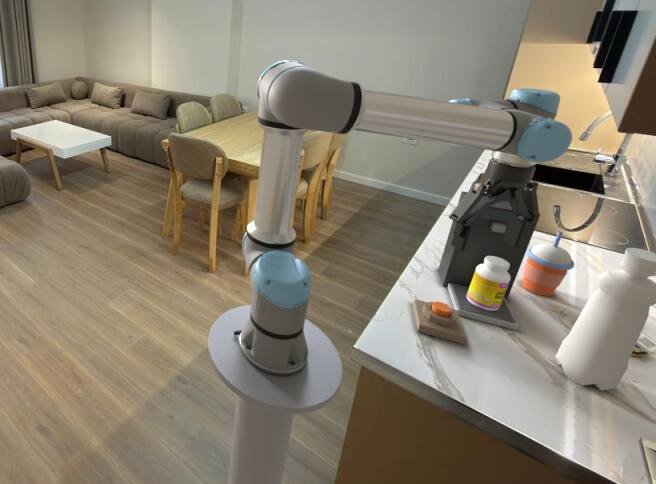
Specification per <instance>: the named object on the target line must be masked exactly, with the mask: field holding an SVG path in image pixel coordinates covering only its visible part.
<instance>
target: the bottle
mask: <svg viewBox="0 0 656 484" xmlns="http://www.w3.org/2000/svg"><path fill="white" fill-rule="evenodd" d="M619 266H620V267H621V268H622V269H621V268H608V269H607V270H605V271H603V272H601V273H599V274H598V276H597V278H596V279H597V280H596V284H597V287H598V288H597V289H596V290H595V291H594V292H593V293H592V294H591V295H590V296H589V298H588V300H587V302H586V304H585V305H584V307H583V309H582V310H581V311H580V314H579V316H578V317H577V319H576V320H575V322H574V324H573V326H572V328H571V330H569V333H568V334H567V336H565V338H564V339H563V340H562V342H561V344H560V346H559V348H558V351H557V353H556V355H555V359H556V362H557V364H558V365H559V366H561V367H562V371H563V373H564V375H565V376H566V377H567V378H569V379H570V380H571V381H572V382H575V383H577V384H579V385H580V386H590V385H594V387H596V388H598V390H600V391H607V390H608V391H609V390H614V389H617V387H618V386H619V384H620V381H621V380H622V378H623V376H624V375H625V373H626V371H627V369H629V360H630V358H631V356H632V354H633V351H634V349H635V347H636V344H637V342H638V341H639V338H640V336H641V334H642V331H643V329H644V326H645V325H646V323H647V321H648V318H649V314H650V307H651V306H654V305H655V306H656V282H655V281H654V280H652V279H651V277H656V253H655V252H652V251H649V250H646V249H642V248H637V247H626V249H625V251H624V255H623V258H622V261H619Z"/></svg>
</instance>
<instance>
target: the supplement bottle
mask: <svg viewBox="0 0 656 484" xmlns="http://www.w3.org/2000/svg"><path fill="white" fill-rule="evenodd" d="M509 266H510V264H509V263H508V262H507V261H506V260H504V259H502V258H499V257H496V256H486V257H485V259H484V264H480V265H478V266H477V267H476V270H475V273H474V276H473V279H472V281H471V284H470V287H469V290H468V293H467V299H468V301H469V302H470V303H471V304H473V305H474V306H476V307H478V308H481V309H483V310H487V311H496V310H498V309H499V308H500V305H501V303H502V300H503V298H504V295H505V292H506V290H507V287H508V284H509V282H510V279H511V277H510V274H509V273H508V272H507V270H508V269H509Z"/></svg>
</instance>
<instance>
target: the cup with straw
mask: <svg viewBox="0 0 656 484" xmlns="http://www.w3.org/2000/svg"><path fill="white" fill-rule="evenodd" d="M563 234H564V232H562V231H561V230H560V231H559V230H558V231H557V233H556V237H555V238H554V241H553V243H538V244H536V245H534V246H533V247H528V248H527V250H526V255H527V257H528V258H527V259H526V262H525V266H524V270H523V278H522V283H521V284H522V286H523V287H524V288H525V289H526V290H527V291H530V292H532V293H533V294H536V295H539V296H544V297H550V296H552V295H553V294H554V293H555V291H556V290H557V288H558V287H560V285H561V284H562V282H563V281H564V279H565V277H566V275H567V274H568V271H569V270H572V269H573V268H574V267H575V261H574V259H572V256H571V255H570V253H569V252H568V250H566V249H565V248H563V247H562V246H560V245H559V244H560V241H561V239H562V236H563Z"/></svg>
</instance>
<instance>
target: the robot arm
mask: <svg viewBox="0 0 656 484" xmlns="http://www.w3.org/2000/svg"><path fill="white" fill-rule="evenodd" d="M256 93H257V98H258V100H259V103H258V114H257V115H258V116H257V124H258V125H259V126H260V127H261V129H263V133H262V134H263V136H262V144H261V154H260V161H259V170H258V171H259V172H258V179H257V180H258V181H257V191H256V199H255V200H256V201H255V210H254V219H253V220H251V221H250V222H249V223H248V224H247V226H246V232H244V233H245V234H244V235H243V238H242V241H241V242H242V243H241V252H242V256H243V259H244V263H245V267H246V269H247V270H246V271H247V274H248V278H249V283H250V287H251V303H250V305H251V313H250V317H249V318H248V320H247V322H246V323H245V325H244V327H243V329H242V330H239V331H234V335H240V341H239V345H240V350H241V352H242V354H243V356H244V357H245V359H246V360H247V361H248V362H249V363H250V364H251V365H252V366H254V367H255V368H257V369H258V370H260V371H262V372H264V373H267V374H270V375H274V376H291V375H295V374H297V373H299V372H300V371H301V370H303V368H304V367H305V365H306V363H307V358H308V355H309V350H308V347H307V343H306V339H305V335H304V331H303V328H304V322H305V319H306V316H307V311H308V306H309V299H310V296H311V291H312V274H311V271H310V269H309V267H308V265H307V264H306V263H305V262H304V260H302V259H301V258H297V256H296V254H294V253H295V247H296V246H295V245H296V240H297V239H296V238H297V232H296V230H295V228H293V226H292V220H293V219H292V218H293V213H294V206H295V198H296V191H297V185H298V178H299V171H300V165H301V164H300V163H301V157H302V151H303V150H302V149H303V144H304V137H305V133H307V132H308V131H317V132H323V133H331V134H339V135H348V134H349V133H351V132H353V131H356V132H363V133H369V134H378V135H384V136H389V137H390V136H391V137H399V138H403V139H410V140H411V139H412V140H418V141H424V142H432V143H438V144H446V145H451V146H452V145H453V146H458V147H466V148H472V149H479V150H484V151H485V150H486V151H490V153H491V154H490V156H491V157H492V158H490V159H489V161H488V163H487V167H486V170H485V174H486V176H487V180H486V182H485V183H482V182H479V181H476V180H475V181H473V182H472V183H471V185H470V188H469V190H468V191H467V192H468V193H467V194H466V195H465V196H464V198H463V199H462V200H461V201H460V203H459V204H458V203H457V204H456V206H455V208H454V209H453V210H452V212H451V213H450V214H449V215H448V219H450V220H451V221H452V222H453V221H455V222H456V225H455V229H454V231H453V234H454V236H453V240H452V243H451V245H452V246H454V247H456V248H457V249H459V250H460V251H464V248H465V245H466V242H467V239H468V236H469V233H470V230H471V227H472V226H471V225H469V224H470V223H471V222H472V221H473V220H474V219H475V218H477V217H478V216H479V215H480V214H481V213H482V212H483V211H485V210H486V209H487V208H488V207H489V206H490V205H495V204H496V203H497V202H503V201H505V202H509V204H510V206H511V208H512V210H513V211H514V213H515V215H516V217H517V218H516V217H511V220H510V223H509V226H508V228H507V231H506V234H505V237H504V239H503V241H504V242H506V243H508V244H509V245H511V246H513V247H517V245H518V243H519V240H520V237H521V235H522V233H523V231H524V229H525V227H526V224H527V222H529V223H533V222H534V221H535V220H534V219H533V218H535V219H537V218H538V217H539V213H540V211H539V201H538V195H537V191H538V187H539V183H538V182H536V181H534V180H533V177H534V174H535V172H536V169H537V168H536V166H535V165H537V164H539V163H540V164H541V163H542V164H543V163H549V162H552V161H554V160H557V159H559V158H560V157H562V156H563V155H564V154H566V152H567V151H568V150H569V149H568V148H569V147H570V146H571V144H572V141H573V133H572V130H571V128H570V127H569V126H568V125H566V123H563V122H562V121H558V120H557V119H555V118H556V117H557V115H558V110H559V105H560V102H561V95H560V94H559V93H557V92H556V91H552V90H548V89H547V90H546V89H539V88H516V89H513V90H512V91H511V93H510V95H509V96H508V98H506V99H505V98H504V99H488V98H487V99H486V98H482V99H481V98H468V97H467V98H456V99H451V100H449V101H446V100H438V99H432V98H425V97H419V96H411V95H404V94H397V93H390V92H386V91H385V92H384V91H378V90H370V89H364V88H363V86H362V85H361V83H360V82H356V81H351V80H350V81H349V80H344V79H340V78H338V77H337V78H336V77H334V76H330V75H329V74H326V73H324V72H321V71H319V70H317V69H315V68H312V67H310V66H308V65H306V64H305V63H303V62H301V61H299V60H298V61H296V60H281V61H276V62H275V63H273V64H271V65H269V66H268V67H267V68H266V69H264V71H262V73H261V74H260V77H258V81H257V86H256ZM486 195H487V196H488V198H487V197H485V196H486ZM530 210H531V211H530ZM465 218H466V219H465ZM539 218H540V217H539Z"/></svg>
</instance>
